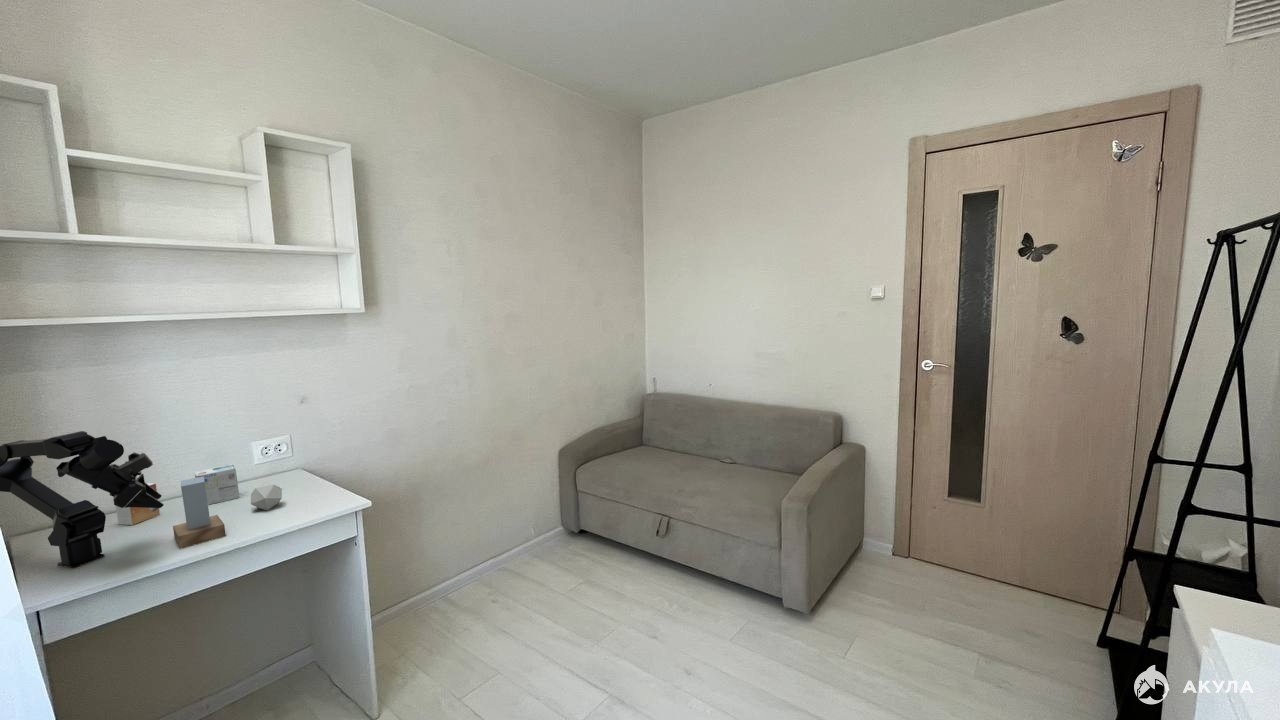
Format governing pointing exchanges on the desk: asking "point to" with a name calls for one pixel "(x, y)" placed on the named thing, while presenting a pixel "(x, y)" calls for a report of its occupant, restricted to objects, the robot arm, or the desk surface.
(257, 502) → the die
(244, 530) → the desk surface
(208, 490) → the light bulb box
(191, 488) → the slate block
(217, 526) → the walnut base block
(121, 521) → the small box
